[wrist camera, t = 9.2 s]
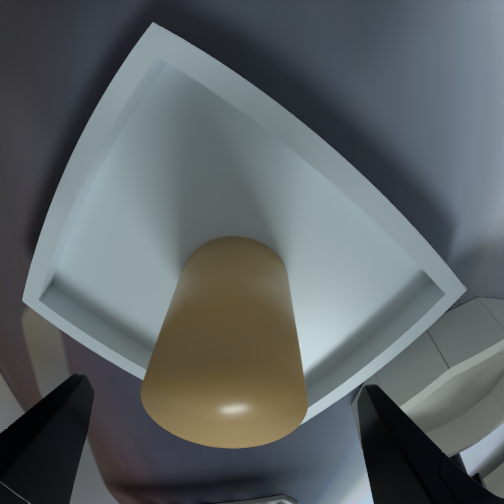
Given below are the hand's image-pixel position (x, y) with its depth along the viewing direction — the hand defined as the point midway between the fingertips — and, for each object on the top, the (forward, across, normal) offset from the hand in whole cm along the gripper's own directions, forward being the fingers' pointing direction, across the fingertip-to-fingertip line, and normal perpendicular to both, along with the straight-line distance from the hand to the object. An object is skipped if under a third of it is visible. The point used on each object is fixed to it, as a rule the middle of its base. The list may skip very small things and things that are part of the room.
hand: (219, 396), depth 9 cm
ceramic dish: (+7, -16, +10) cm, 21 cm away
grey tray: (+7, 0, 0) cm, 7 cm away
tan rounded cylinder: (+6, 0, 0) cm, 7 cm away
